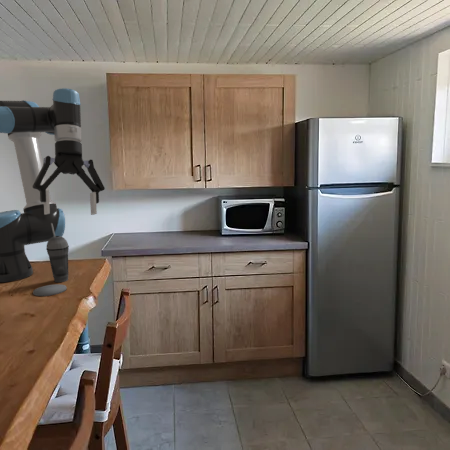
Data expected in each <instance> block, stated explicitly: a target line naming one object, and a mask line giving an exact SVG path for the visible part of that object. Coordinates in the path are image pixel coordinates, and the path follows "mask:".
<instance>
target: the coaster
mask: <svg viewBox="0 0 450 450" xmlns="http://www.w3.org/2000/svg"><path fill="white" fill-rule="evenodd" d="M67 288H68V287H67V285H65V284H62V283H61V284H60V283H59V284H57V283H56V284H47V285H43V286H39V287H36V288H35V289H33V291H32V295H34V296H35V297H49V296H55V295H58V294H62V293H64V292H65V291H67Z"/></svg>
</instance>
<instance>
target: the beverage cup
mask: <svg viewBox="0 0 450 450" xmlns="http://www.w3.org/2000/svg"><path fill="white" fill-rule="evenodd" d="M51 226H52V231H53V235H54V237H52V238H50V239H49V241H47V243H46V249H45V250H46V253H47V255H48V258H49V262H50V266H51V268H50V269H51V274H52V277H53V280H54V282H55V283H65V282H67V281H69V250H70V249H69V248H70V246H69V243H68V241H67V239H66V238H65V237H63V236H62V237H61V236H55V232H54V228H53V224H52V223H51Z"/></svg>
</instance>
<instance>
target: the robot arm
mask: <svg viewBox="0 0 450 450" xmlns="http://www.w3.org/2000/svg"><path fill="white" fill-rule="evenodd" d="M52 102H53V103H52V104H51V106H39V104H37V102H34V101H30V100H29V101H28V100H0V134H7V137H8V140H10V141H12V142H13V145H14V149H15V154H16V155H15V156H16V158H17V159H16V160H17V162H18V163H17V164H18V168H19V172H20V173H19V174H20V178H21V183H22V187H23V193H24V199H25V202H26V205H25V206H24V207H23V210H22V211H23V213H21V211H20V210H19V209H18V210H17V209H13V210H7V211H1V212H0V283H9V282H15V281H18V280H19V281H20V280H22V279H25V278H28V277H30V276H32V275H33V273H34V270H33V266H32V263H31V262H30V260H29V259H28V257H27V254H26V251H25V250H26V249H25V246H28V245H34V244H39V243H40V244H41V243H46V242H47V243H48V241H49V239H50V238H52V237H54V235H53V231H52V226H51V223H52V224H53V228H54V232H55V236H61V237H63V236H64V234H65V230H66V217H65V213H64V210H63V209H62V208H58V207H57V203H56V202H54V201H53V200H52V199H51V195H50V190H49V189H50V188H49V186H50V185H51V184H52V183H53V182H54V180H56V178H57V177H58V176H59V175H60V174H61V173H62V174H63V175H67V174H69V175H77V176H78V177H79V178H80V179H81V180H82V182H83V183H84V184H85V185H86V186H87V188H89V190H90V191H91V192H90V193H89V198H90V199H89V201H90V215H92V216H93V215H97V214H98V212H97V211H98V210H97V204H99V202H100V194H99V193H100V192H103V191H104V190H105V189H106V188H105V186H104V184H103V181H102V180H101V178H100V176H99V174H98V172H97V170H96V168H95V165H94V160H93V159H87V160H84V159H83V145H82V143H81V142H82V122H81V121H82V119H81V115H82V114H81V100H80V93H79V92H78V91H77V90H75V89H71V88H66V87H63V88H57V89H54V90H53V94H52ZM42 133H46V134H48V135H51V136H54V142H55V143H54V155H55V157H51V156H50V155H47V156H45V157H44V158H43V157H42V151H41V146H40V141H39V139H40V138H41V137H42ZM52 164H54V165H55V166H56V168H55V170H54V171H53V173H52V174H51V175H50V176H49V177H48V178H47V172H48V169H49V168H50V166H51V165H52ZM83 166H84V167H85V168H86V169H87V171H88V173H89V176H88V174H87V173H86V171H85V169H84V168H83ZM90 177H91V178H90Z"/></svg>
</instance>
